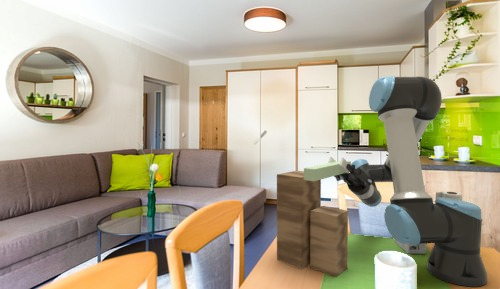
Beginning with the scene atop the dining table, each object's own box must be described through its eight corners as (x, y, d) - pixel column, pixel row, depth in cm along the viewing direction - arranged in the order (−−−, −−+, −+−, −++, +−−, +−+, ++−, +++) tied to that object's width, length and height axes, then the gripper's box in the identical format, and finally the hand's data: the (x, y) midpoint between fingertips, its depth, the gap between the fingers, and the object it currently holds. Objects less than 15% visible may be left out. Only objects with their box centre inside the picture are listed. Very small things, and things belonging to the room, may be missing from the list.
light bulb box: (426, 254, 105) (427, 224, 104) (408, 254, 105) (408, 224, 104) (411, 242, 115) (411, 215, 115) (393, 242, 116) (394, 215, 115)
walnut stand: (330, 280, 87) (331, 181, 85) (277, 259, 101) (276, 174, 99) (348, 266, 95) (349, 176, 94) (296, 249, 110) (296, 170, 108)
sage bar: (314, 181, 84) (314, 169, 84) (303, 179, 86) (303, 168, 86) (350, 171, 101) (350, 161, 101) (341, 170, 104) (341, 160, 103)
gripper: (380, 199, 105) (357, 174, 90) (337, 192, 116) (310, 168, 101) (384, 179, 107) (362, 152, 92) (342, 174, 119) (316, 149, 103)
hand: (335, 161), depth 97 cm, fingers closed on sage bar, 3 cm apart
